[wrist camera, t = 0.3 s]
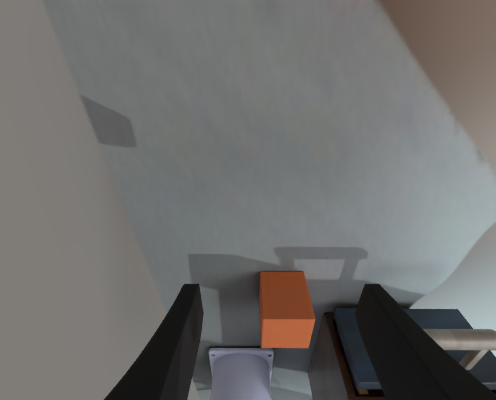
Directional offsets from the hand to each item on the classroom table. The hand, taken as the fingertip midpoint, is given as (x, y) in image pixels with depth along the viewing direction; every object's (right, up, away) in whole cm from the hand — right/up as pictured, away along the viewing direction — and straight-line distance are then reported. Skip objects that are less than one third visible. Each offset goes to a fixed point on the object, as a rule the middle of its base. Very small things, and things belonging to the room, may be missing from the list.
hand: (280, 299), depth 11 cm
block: (+2, -4, +14) cm, 15 cm away
